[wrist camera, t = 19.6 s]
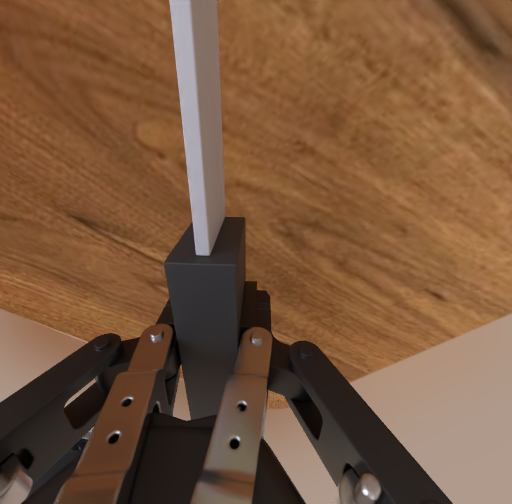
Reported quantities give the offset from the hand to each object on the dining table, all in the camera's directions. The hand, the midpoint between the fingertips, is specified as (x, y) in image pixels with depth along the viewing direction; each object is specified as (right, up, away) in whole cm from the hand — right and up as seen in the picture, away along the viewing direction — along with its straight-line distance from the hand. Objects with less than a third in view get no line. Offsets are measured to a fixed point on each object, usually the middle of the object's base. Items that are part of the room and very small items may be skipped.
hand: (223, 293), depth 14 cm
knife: (0, +5, -3) cm, 6 cm away
